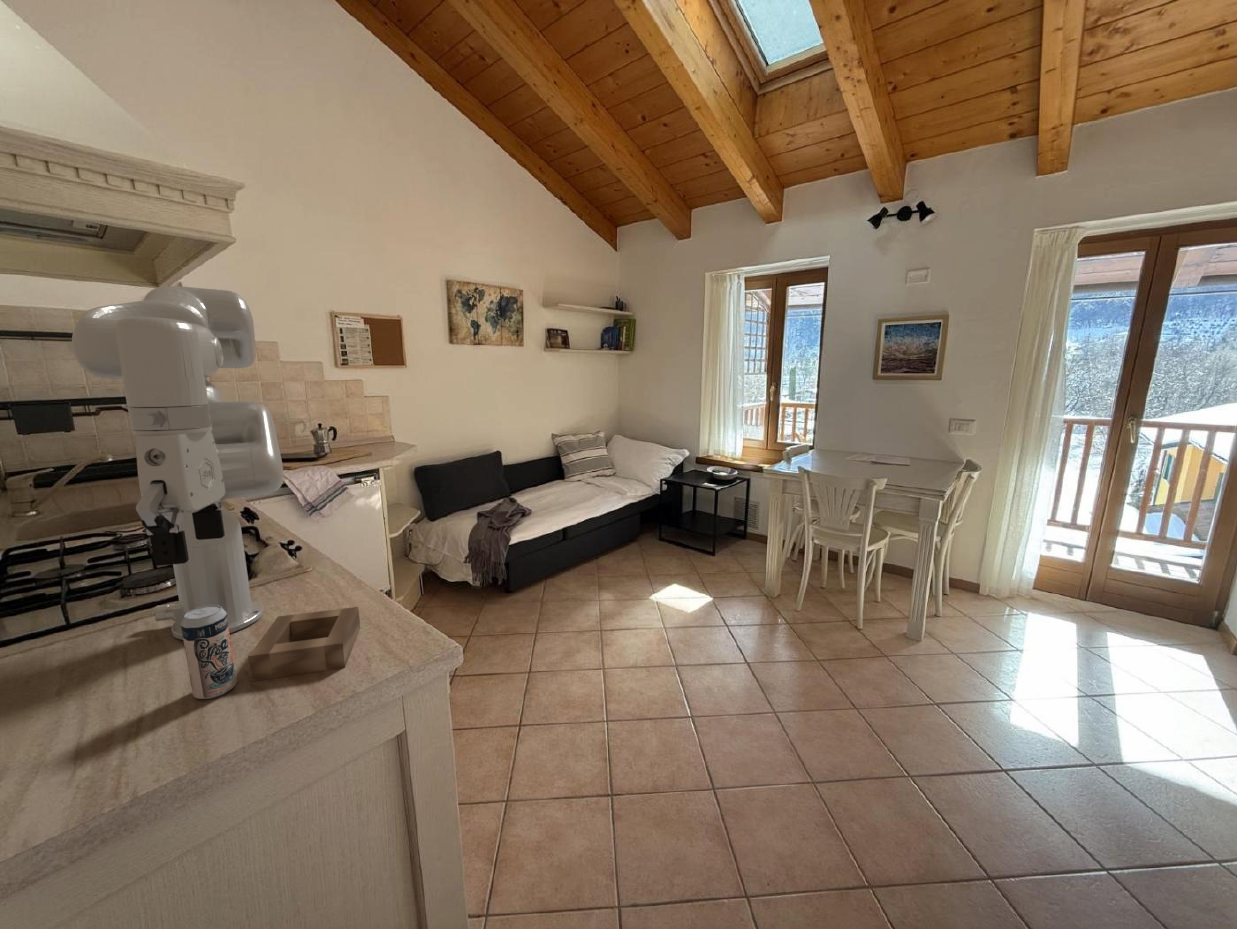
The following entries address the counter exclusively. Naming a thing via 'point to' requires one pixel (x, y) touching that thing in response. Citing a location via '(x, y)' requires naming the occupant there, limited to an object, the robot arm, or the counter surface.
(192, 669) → the beer can
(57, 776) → the counter surface
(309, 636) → the walnut socket block
